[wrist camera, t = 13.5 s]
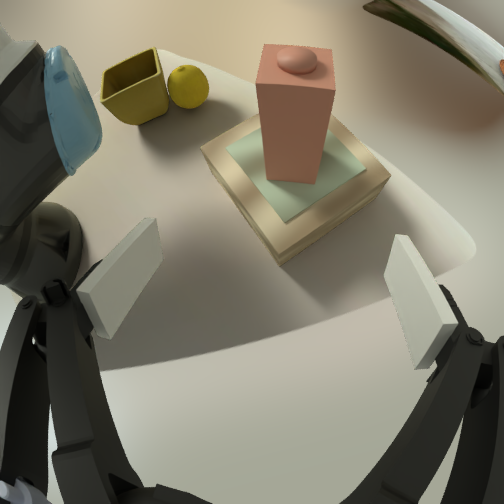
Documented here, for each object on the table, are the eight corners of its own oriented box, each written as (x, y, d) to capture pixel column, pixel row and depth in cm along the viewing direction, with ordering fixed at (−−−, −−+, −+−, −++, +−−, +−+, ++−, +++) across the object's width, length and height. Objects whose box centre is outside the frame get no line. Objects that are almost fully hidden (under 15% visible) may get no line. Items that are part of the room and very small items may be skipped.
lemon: (207, 119, 35) (192, 79, 27) (172, 119, 35) (153, 82, 28) (218, 93, 36) (206, 53, 28) (185, 93, 37) (169, 57, 29)
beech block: (212, 174, 33) (199, 146, 27) (302, 122, 33) (304, 89, 27) (279, 267, 29) (278, 253, 23) (374, 199, 30) (392, 174, 24)
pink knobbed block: (266, 179, 25) (254, 75, 13) (271, 141, 26) (263, 37, 14) (314, 184, 24) (336, 82, 12) (316, 145, 25) (332, 43, 13)
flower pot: (173, 83, 38) (155, 45, 29) (181, 115, 35) (160, 72, 27) (125, 105, 38) (102, 71, 29) (128, 140, 36) (99, 103, 27)
